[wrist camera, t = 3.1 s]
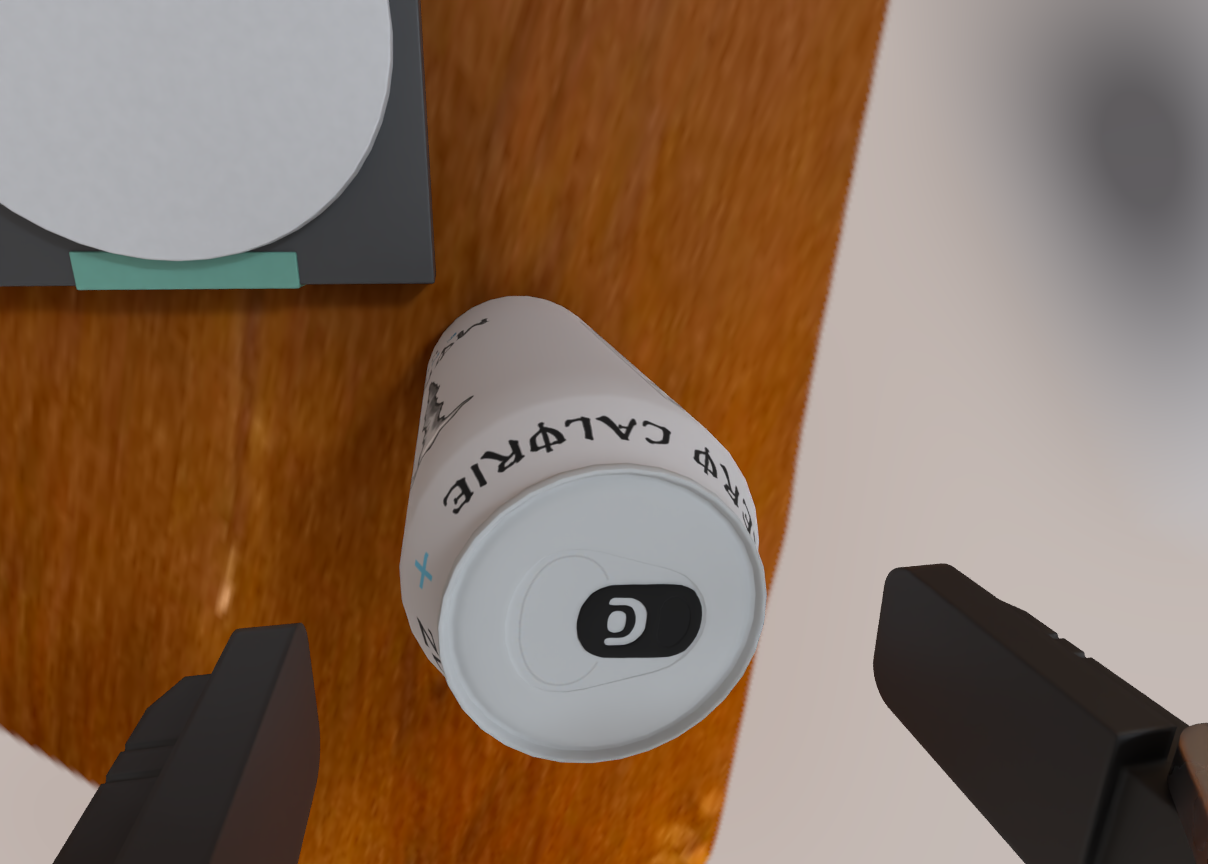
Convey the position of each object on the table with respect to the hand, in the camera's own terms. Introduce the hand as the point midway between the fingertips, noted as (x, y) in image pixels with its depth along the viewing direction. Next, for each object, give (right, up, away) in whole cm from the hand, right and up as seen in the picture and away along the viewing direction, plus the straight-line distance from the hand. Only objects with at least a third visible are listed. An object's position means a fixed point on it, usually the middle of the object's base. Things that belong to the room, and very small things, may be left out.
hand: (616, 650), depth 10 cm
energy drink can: (-3, +5, +15) cm, 16 cm away
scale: (-12, +14, +10) cm, 21 cm away
